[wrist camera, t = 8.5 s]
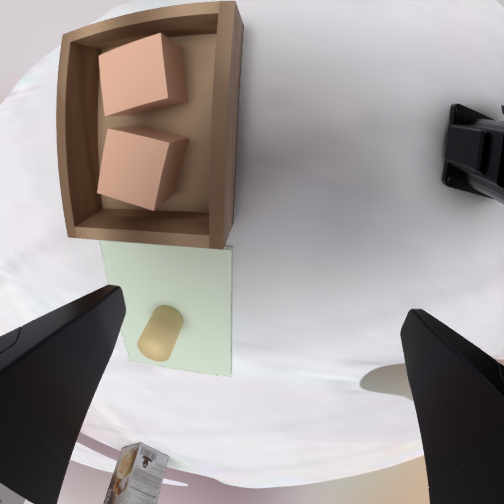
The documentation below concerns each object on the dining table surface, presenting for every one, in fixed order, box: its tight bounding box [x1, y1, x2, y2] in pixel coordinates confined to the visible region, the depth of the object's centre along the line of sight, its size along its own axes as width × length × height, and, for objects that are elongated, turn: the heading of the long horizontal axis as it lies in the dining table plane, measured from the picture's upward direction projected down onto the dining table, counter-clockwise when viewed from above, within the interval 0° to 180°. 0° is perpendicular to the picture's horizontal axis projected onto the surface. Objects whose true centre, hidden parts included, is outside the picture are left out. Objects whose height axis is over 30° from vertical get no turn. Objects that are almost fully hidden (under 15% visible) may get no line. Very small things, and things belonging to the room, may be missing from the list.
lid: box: [100, 240, 232, 377], centre depth 23 cm, size 11×14×5 cm
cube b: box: [97, 125, 189, 211], centre depth 16 cm, size 4×4×4 cm
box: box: [56, 1, 244, 250], centre depth 15 cm, size 11×14×4 cm
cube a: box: [99, 33, 188, 117], centre depth 14 cm, size 4×4×4 cm
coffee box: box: [104, 443, 168, 504], centre depth 34 cm, size 9×6×16 cm
